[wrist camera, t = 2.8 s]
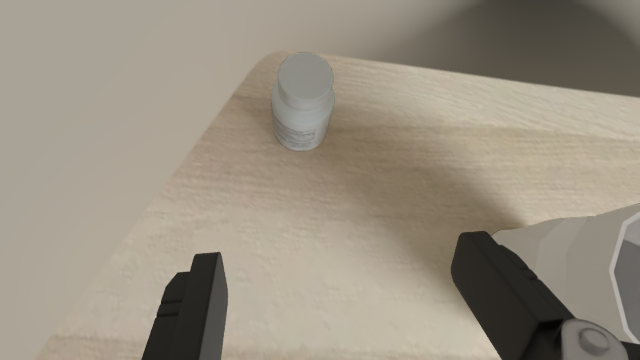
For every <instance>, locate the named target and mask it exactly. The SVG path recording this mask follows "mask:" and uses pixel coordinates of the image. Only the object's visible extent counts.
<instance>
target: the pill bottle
mask: <svg viewBox="0 0 640 360" xmlns="http://www.w3.org/2000/svg"><path fill="white" fill-rule="evenodd" d="M332 85H333V72H332V69H331V67H330V65H329V64H328V63H327V61H326V60H324V59H323V58H322V57H320V56H319V55H317V54H314V53H310V52H299V53H295V54H292V55H290V56H289V57H287V58H286V59H285V60H284V61H283V62H282V64H281V65H280V68H279V71H278V79H277V81H276V82H275V84H274V86H273V89H272V93H271V105H272V118H273V127H274V132H275V135H276V137H277V139H278V140H279V141H280V143H281V144H283V145H284V146H285V147H287V148H289V149H291V150H295V151H308V150H311V149H313V148H315V147H316V146H318V145H319V144H320V143H321V142H322V141H323V139H324V137H325V135H326V132H327V128H328V125H329V121H330V118H331V114H332V111H333V108H334V102H335V96H334V91H333V88H332Z"/></svg>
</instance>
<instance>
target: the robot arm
mask: <svg viewBox="0 0 640 360" xmlns="http://www.w3.org/2000/svg"><path fill="white" fill-rule="evenodd" d="M451 275H452V279H453V282H454V284H455V285H456V287H457V289H458V290H459V292H460V293H461V295H462V297H463V298H464V300H465V301H466V303H467V305H468V306H469V308H470V309H471V311H472V313H473V314H474V316H475V317H476V319H477V321H478V322H479V324H480V325H481V327H482V329H483V330H484V332H485V333H486V335H487V337H488V338H489V340H490V341H491V343H492V345H493V346H494V348H495V349H496V351H497V353H498V354H499V356H500V357H501V359H502V360H640V344H635V343H630V342H624V341H619V340H618V339H617V338H616V337H615V336H614V335H613V334H612V333H610V332H609V331H608V330H606V329H605V328H603V327H601V326H599V325H597V324H595V323H593V322H590V321H587V320H583V319H577V318H576V317H575V316H574V315H573V314H572V313H571V312H570V311H569V310H568V309H567V308H566V307H565V305H564V304H563V303H562V302H561V301H560V300H559V299H558V298H557V297H556V296H555V295H554V294H553V293H552V291H551V290H550V289H549V288H548V287H547V286H546V285H545V284H544V283H543V282H542V281H541V280H540V279H538V276H537V275H536V274H535V273H534V272H533V271H532V270H531V269H529V268H528V266H527V264H526V263H525V262H524V261H523V260H522V259H521V258H520V257H519V256H518V255H517V254H516V253H514V252H513V251H511V250H510V249H508V248H506V247H505V246H503V245H498V244H497V242H496V241H495V240H494V239H493V238H492V237H491V236H490V235H489V234H488V233H487V232H485V231H476V232H464V233H461V234H460V236H459V238H458V242H457V246H456V249H455V253H454V257H453V260H452V264H451ZM227 305H228V290H227V283H226V277H225V272H224V266H223V261H222V256H221V253H220V252H215V253H202V254H195V256H194V259H193V262H192V266H191V270H190V272H180V273H177V274H176V275H175V276H174V278H173V279H172V280H171V281H170V282H169V284H168V285H167V286H166V288H165V291H164V294H163V297H162V300H161V305H160V306H159V309H158V312H157V318H155V321H154V324H153V327H152V330H151V333H150V336H149V339H148V342H147V345H146V348H145V351H144V354H143V357H142V359H141V360H221V354H222V346H223V338H224V330H225V322H226V314H227Z"/></svg>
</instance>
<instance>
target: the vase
mask: <svg viewBox="0 0 640 360" xmlns="http://www.w3.org/2000/svg"><path fill="white" fill-rule="evenodd" d="M491 237H492V238H493V239H494V240H495V241H496V242H497V244H498V245H503V246H505V247H506V248H508V249H510V250H511V251H513V252H514V253H516V254H517V255H518V256H519V257H520V258H521V259H522V260H523V261H524V262H525V263H526V264H527V266H528V268H529V269H531V270H532V271H533V272H534V273H535V274H536V275H537V276H538V279H540V280H541V281H542V282H543V283H544V284H545V285H546V286H547V287H548V288H549V289H550V290H551V291H552V293H553V294H554V295H555V296H556V297H557V298H558V299H559V300H560V301H561V302H562V303H563V304H564V305H565V307H566V308H567V309H568V310H569V311H570V312H571V313H572V314H573V315H574V316H575V317H576V318H577V319H583V320H587V321H590V322H593V323H595V324H597V325H599V326H601V327H603V328H605V329H606V330H608V331H609V332H610V333H612V334H613V335H614V336H615V337H616V338H617V339H618V340H619V341H624V342H630V343H635V344H640V203H638V204H635V205H631V206H627V207H624V208H621V209H617V210H614V211H610V212H607V213H604V214H600V215H597V216H587V217H569V218H558V219H552V220H548V221H544V222H541V223H538V224H535V225H531V226H527V227H523V228H517V229H510V230H499V231H498V232H496V233H495V234H493V235H492V236H491Z"/></svg>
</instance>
